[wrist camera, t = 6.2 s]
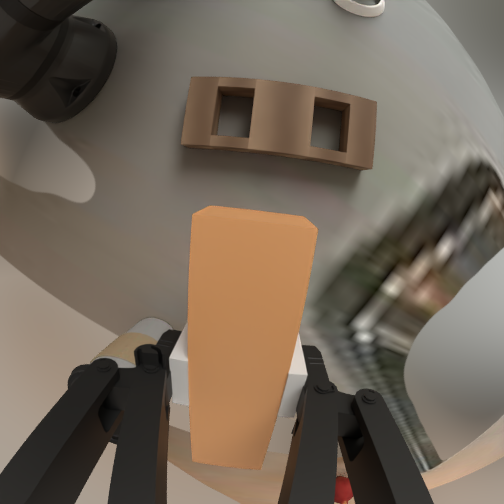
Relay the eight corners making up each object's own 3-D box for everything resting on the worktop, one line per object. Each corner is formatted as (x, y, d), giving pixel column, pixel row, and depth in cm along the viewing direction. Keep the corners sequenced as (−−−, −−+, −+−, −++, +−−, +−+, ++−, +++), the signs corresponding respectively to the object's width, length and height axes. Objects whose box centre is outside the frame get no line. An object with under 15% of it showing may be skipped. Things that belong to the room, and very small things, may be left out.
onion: (343, 482, 40) (349, 509, 33) (320, 482, 40) (324, 511, 32) (357, 470, 39) (364, 498, 31) (333, 470, 39) (339, 501, 31)
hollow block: (189, 148, 26) (180, 144, 23) (198, 86, 25) (191, 76, 22) (361, 170, 26) (372, 169, 23) (366, 108, 24) (376, 101, 22)
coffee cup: (152, 373, 33) (109, 453, 19) (111, 319, 32) (45, 386, 17) (206, 353, 32) (176, 447, 17) (163, 290, 30) (97, 366, 16)
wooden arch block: (262, 379, 21) (260, 469, 12) (213, 373, 21) (192, 461, 12) (289, 204, 17) (318, 229, 9) (227, 196, 17) (192, 214, 9)
